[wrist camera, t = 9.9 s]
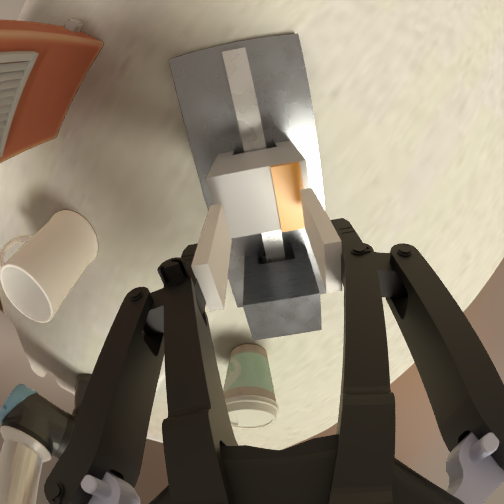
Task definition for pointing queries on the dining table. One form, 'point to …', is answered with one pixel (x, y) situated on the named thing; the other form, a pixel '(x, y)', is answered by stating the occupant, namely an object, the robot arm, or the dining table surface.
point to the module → (260, 189)
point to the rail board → (225, 130)
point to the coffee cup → (249, 388)
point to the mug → (48, 265)
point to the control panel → (39, 79)
